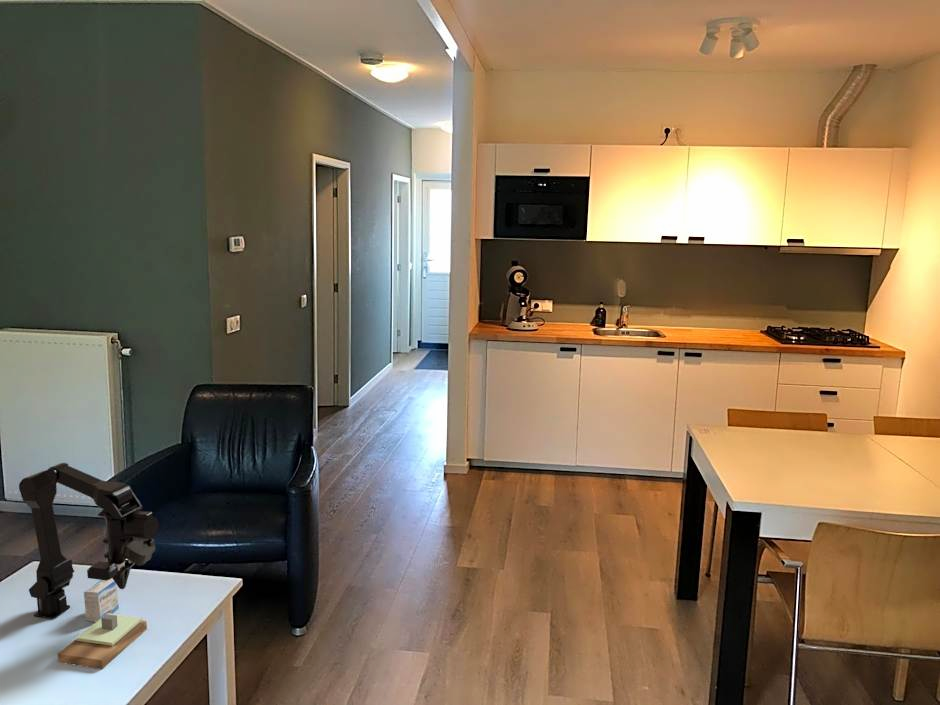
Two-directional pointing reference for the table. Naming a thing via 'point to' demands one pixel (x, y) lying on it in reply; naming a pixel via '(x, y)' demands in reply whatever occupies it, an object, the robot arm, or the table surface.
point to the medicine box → (101, 600)
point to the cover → (109, 629)
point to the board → (98, 650)
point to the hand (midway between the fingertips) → (122, 588)
